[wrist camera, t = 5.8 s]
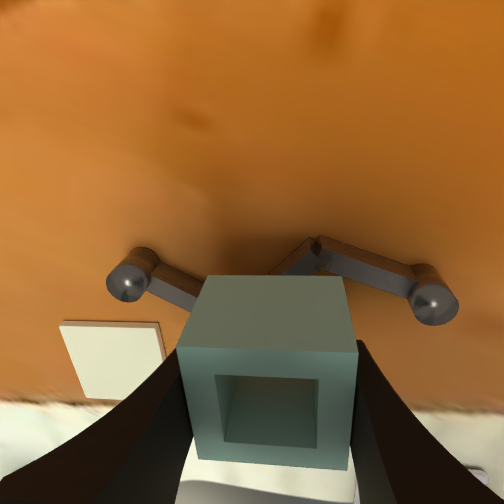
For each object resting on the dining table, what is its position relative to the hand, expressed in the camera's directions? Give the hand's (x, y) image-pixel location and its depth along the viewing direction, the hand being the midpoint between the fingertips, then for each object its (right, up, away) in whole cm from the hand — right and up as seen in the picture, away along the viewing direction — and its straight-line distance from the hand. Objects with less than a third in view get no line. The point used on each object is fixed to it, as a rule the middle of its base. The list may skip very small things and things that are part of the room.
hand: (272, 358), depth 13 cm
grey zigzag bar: (+1, +2, +5) cm, 6 cm away
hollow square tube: (0, +1, +1) cm, 2 cm away
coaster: (-9, -3, +9) cm, 13 cm away
